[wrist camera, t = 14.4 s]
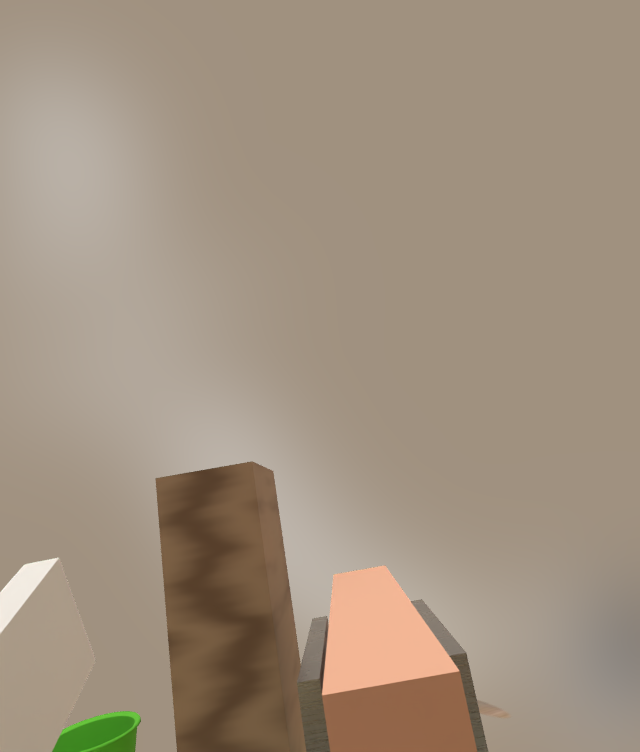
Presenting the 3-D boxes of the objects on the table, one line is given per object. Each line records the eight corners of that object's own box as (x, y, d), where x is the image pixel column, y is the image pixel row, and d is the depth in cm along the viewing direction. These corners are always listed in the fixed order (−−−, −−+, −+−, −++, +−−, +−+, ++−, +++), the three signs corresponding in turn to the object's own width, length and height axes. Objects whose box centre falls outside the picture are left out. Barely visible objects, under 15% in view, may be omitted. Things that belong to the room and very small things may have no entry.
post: (202, 1070, 26) (155, 478, 34) (242, 906, 37) (199, 484, 45) (329, 1048, 26) (252, 461, 34) (332, 890, 37) (273, 471, 45)
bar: (347, 864, 13) (322, 695, 14) (343, 631, 36) (333, 574, 37) (496, 838, 13) (459, 670, 14) (396, 622, 36) (385, 565, 37)
